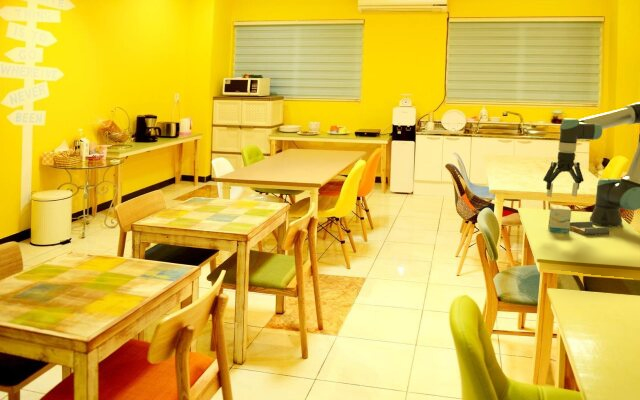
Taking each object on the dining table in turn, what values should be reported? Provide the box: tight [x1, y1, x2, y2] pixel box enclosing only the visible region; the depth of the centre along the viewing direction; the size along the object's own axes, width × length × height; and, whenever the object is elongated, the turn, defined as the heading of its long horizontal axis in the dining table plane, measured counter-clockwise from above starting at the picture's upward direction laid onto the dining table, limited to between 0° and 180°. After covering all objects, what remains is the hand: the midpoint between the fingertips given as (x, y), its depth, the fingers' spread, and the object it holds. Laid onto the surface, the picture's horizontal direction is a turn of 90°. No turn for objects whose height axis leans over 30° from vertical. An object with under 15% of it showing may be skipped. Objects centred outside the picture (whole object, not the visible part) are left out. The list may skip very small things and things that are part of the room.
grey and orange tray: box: [569, 220, 611, 237], centre depth 300 cm, size 13×13×4 cm
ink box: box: [547, 205, 572, 235], centre depth 299 cm, size 9×8×12 cm
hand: (561, 196), depth 297 cm, fingers open, 13 cm apart
